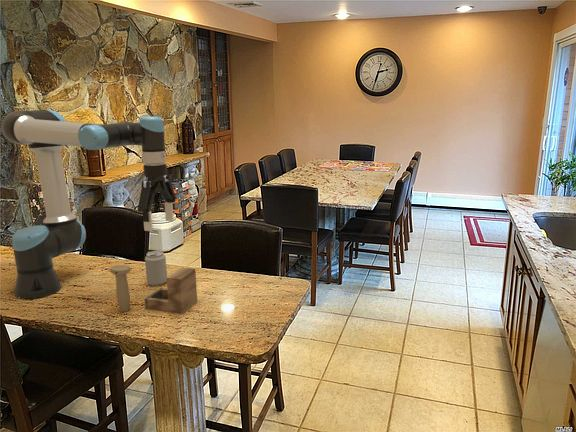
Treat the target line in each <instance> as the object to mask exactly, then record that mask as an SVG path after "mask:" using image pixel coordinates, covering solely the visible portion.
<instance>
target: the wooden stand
mask: <svg viewBox="0 0 576 432" xmlns="http://www.w3.org/2000/svg"><path fill="white" fill-rule="evenodd" d="M166 279H167V281H166V287H160V288H159V289H157V290H155V291H154V292H153V293H151V294H150V295H148V296H147V297H145V298H144V305H145V310H151V311H159V312H167V313H174V314H181V315H183V314H185V312H187V311H188V310H189V309H191V308H192V307H193V306H194V305H196V303H198V292H197V291H198V289H197V274H196V268H189V267H183V266H182V267H181V268H179V269H178V270H176V271H175V272H173V273H171V274H170V275H167V278H166Z"/></svg>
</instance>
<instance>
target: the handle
mask: <svg viewBox="0 0 576 432" xmlns="http://www.w3.org/2000/svg"><path fill="white" fill-rule="evenodd" d="M131 271H132V270H131V266H130V265H127V264H126V265H125V264H118V265H113V266H111V267H110V268H109V272H110V273H111V274H112V275H115V281H116V282H115V284H116V285H115V287H116V289H115V291H116V301H117V305H118V310H119V311H120V312H121V313H123V312H128V311H130V310H131V309H130V308H131V306H130V303H131V297H130V290H129V284H128V283H129V282H128V277H127V274H129V273H130V272H131Z"/></svg>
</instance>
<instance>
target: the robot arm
mask: <svg viewBox="0 0 576 432" xmlns="http://www.w3.org/2000/svg"><path fill="white" fill-rule="evenodd" d="M0 129H1V132H2V134H3V136H4V138H5V139H6V140H8V141H9V142H10V143H12V144H15V145H28V149H29V150H30V151H32V152H33V153H34V156H35V162H36V166H37V171H38V172H37V173H38V176H39V183H40V187H41V193H42V198H43V199H42V200H43V205H44V210H45V215H46V217H45V218H44V219H43V220H42V223H43V225H41V224H40V225H32V226H28V227H24V228H21V229H19V230H17V231H16V232H15V233H13V235H12V239H11V240H12V241H11V242H12V244H11V245H12V250H13V254H14V261H15V268H16V273H17V275H16V282H15V286H14V289H13V291H14V296H15V295H16V296H17V297H16V296H15V297H16V298H18V297H20V298H19V299H21V298H34V299H37V298H36V297H40V298H43V296H45V297H48V296H50V294H51V295H53V294H55V293H58V292H59V291H60V290H61V289H62V283H61V280H60V278H59V276H58V274H57V272H56V270H55V269H54V264H53V259H54V258H57V257H59V256H63V255H65V254H67V253H71V252H73V251H76V250H78V249H80V248H81V247H83V245H84V243H85V241H86V238H87V233H86V228H85V226H84V225H83V222H81V221H80V220H79V219H77V216H76V215H75V214H74V213H72V209H71V204H70V203H71V202H70V199H69V193H68V187H67V180H66V175H65V170H64V163H63V158H62V152H61V151H62V150H63V148H64V146H71V147H78V148H79V147H82V148H84V149H86V150H88V151H99V150H102V149H109V148H119V147H125V146H141V154H142V155H141V156H142V157H141V158H142V163H143V175H144V177H146V178H147V180H141V190H140V195H139V200H138V205H137V212H139V213H141V214H142V221H143V229H144V231H145V232H153V231H154V228H153V217H152V211H151V208H152V204H153V203H154V199H155V196H156V195H157V194H158V193H160V195H161V196H162V198H163V200H164V201H165V202H164V212H165V213H164V215H165V221H168V222H173V221H174V207H173V206H174V205H173V203H176V200H177V196H176V194H175V191H174V187H173V186H172V182H171V178H170V177H171V176H170V174H169V175H168V168H167V167H168V166H167V164H166V163H167V154H166V145H165V144H166V141H165V140H166V139H165V131H166V129H165V125H164V119H163V118H162V117H161V116H141V117H140V118H139V122H129V121H127V122H125V121H116V122H113V123H102V124H101V123H84V122H76V121H75V122H74V121H73V122H72V121H67V120H66V119H65V118H64V116H63V115H62V114H60V113H59V112H58V111H55V110H52V109H38V110H37V109H36V110H35V109H34V110H15V111H13V112H10V113H7V114H6V115H5V116H4V118H3V119H2V120H1V123H0ZM47 295H48V296H47Z"/></svg>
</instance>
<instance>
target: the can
mask: <svg viewBox="0 0 576 432" xmlns="http://www.w3.org/2000/svg"><path fill="white" fill-rule="evenodd" d="M144 262H145V274H146V283H147V284H149V285H150V286H152V287H158V286H162V285H164V284H166V283H167V279H166V278H167V277H168V269H167V259H166V255H165V253H164V252H163V251H160V250H153V251H149V252H147V253H146V256H145V257H144Z"/></svg>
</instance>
